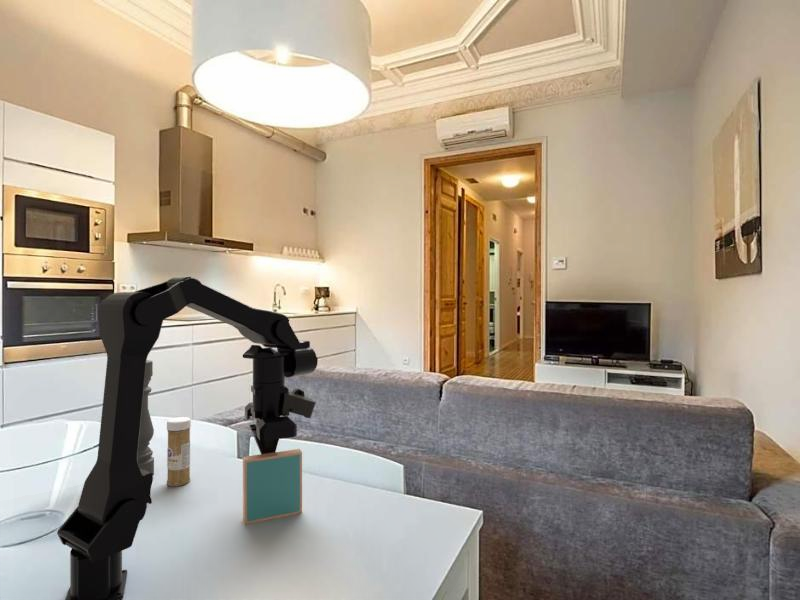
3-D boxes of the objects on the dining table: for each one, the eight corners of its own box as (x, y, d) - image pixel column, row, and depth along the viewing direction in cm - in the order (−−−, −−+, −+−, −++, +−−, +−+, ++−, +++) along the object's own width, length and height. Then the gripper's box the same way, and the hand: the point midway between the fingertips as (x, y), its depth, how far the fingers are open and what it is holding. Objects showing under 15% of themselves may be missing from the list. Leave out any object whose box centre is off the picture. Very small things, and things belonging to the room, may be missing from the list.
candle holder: (117, 482, 98) (117, 364, 98) (126, 472, 104) (126, 360, 104) (150, 479, 99) (150, 363, 99) (157, 469, 105) (157, 359, 105)
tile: (302, 512, 84) (302, 452, 84) (244, 524, 80) (244, 460, 80) (299, 508, 86) (299, 448, 86) (242, 519, 81) (242, 456, 81)
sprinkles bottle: (161, 485, 96) (161, 420, 96) (179, 477, 101) (179, 415, 101) (178, 488, 95) (178, 422, 95) (195, 480, 99) (195, 417, 99)
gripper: (325, 385, 81) (325, 475, 81) (299, 371, 98) (299, 445, 98) (260, 391, 76) (260, 486, 76) (244, 375, 93) (244, 452, 93)
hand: (268, 465), depth 86 cm, fingers closed
